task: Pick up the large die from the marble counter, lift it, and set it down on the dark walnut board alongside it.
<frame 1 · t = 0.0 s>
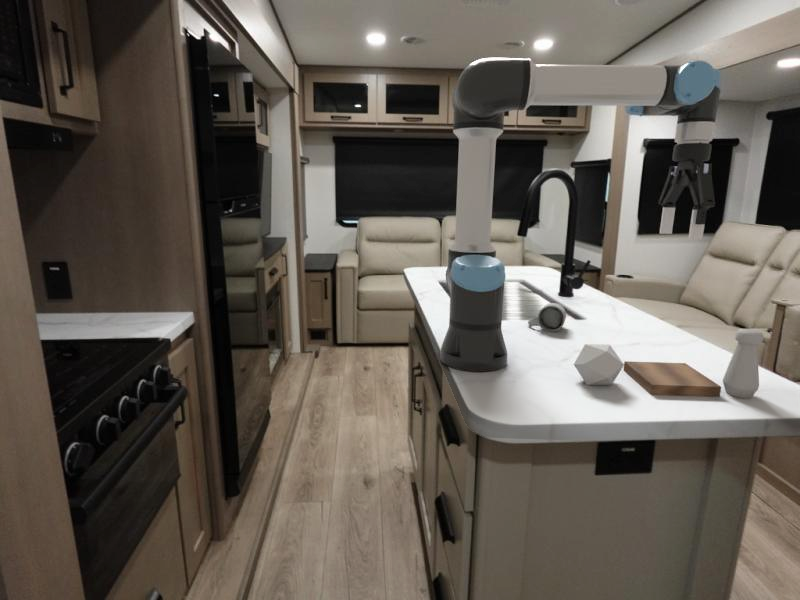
hand: (679, 236, 116), 28 cm above the table, tool pointing down, fingers open, 13 cm apart
die: (596, 383, 99), on the table
ceramic mug: (546, 328, 138), on the table
walnut board: (668, 382, 100), on the table
salt shaker: (738, 395, 94), on the table
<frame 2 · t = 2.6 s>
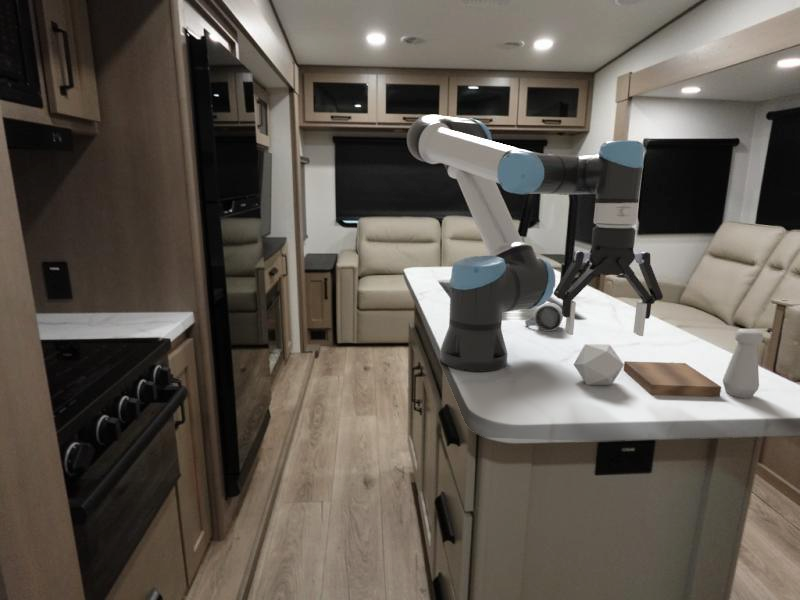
hand: (603, 333, 97), 10 cm above the table, tool pointing down, fingers open, 13 cm apart
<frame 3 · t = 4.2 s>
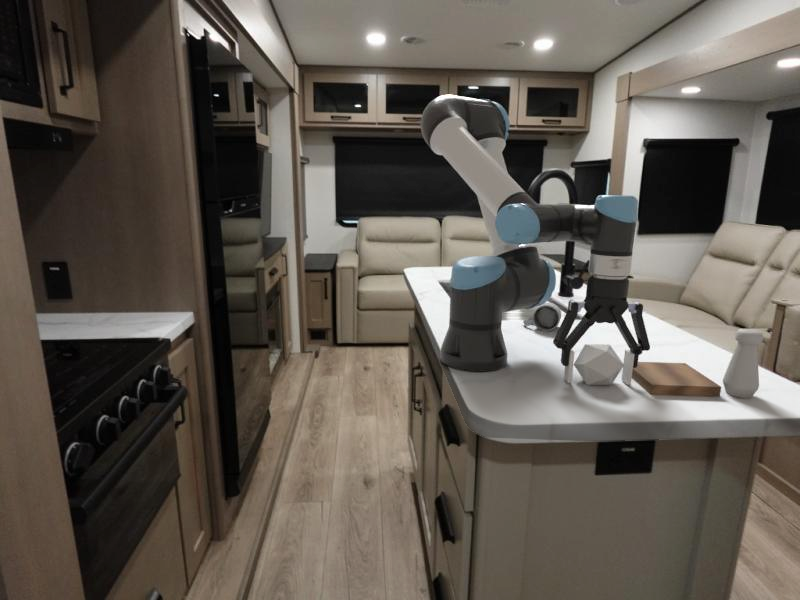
hand: (596, 381, 99), 0 cm above the table, tool pointing down, fingers open, 11 cm apart
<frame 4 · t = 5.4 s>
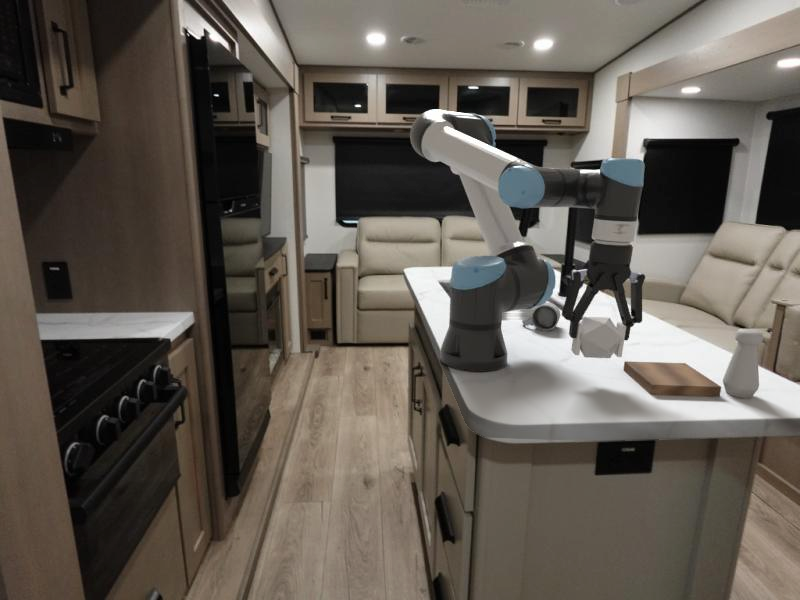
hand: (596, 353, 99), 6 cm above the table, tool pointing down, fingers closed on die, 8 cm apart
die: (594, 356, 99), point 5 cm above the table, touching gripper
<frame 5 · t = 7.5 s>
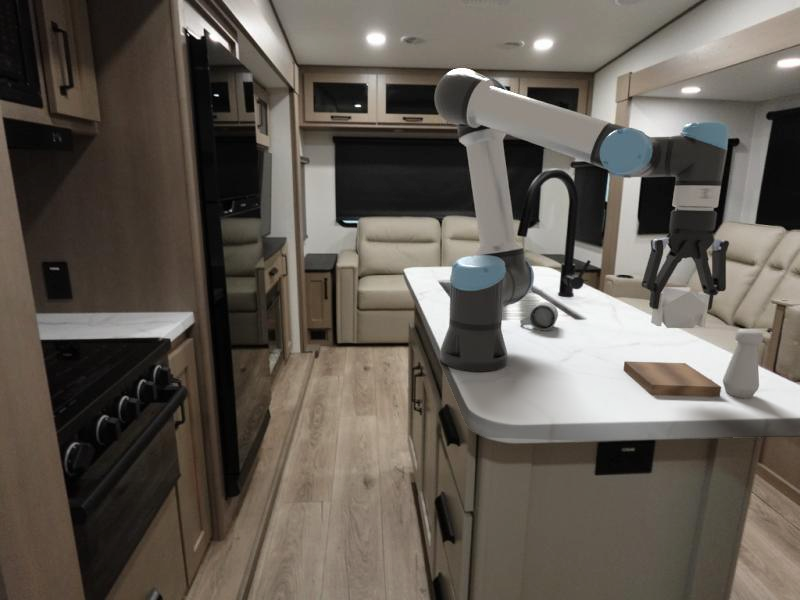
hand: (677, 324, 97), 12 cm above the table, tool pointing down, fingers closed on die, 8 cm apart
die: (676, 327, 97), point 12 cm above the table, touching gripper
when the fingers open (3 cm above the table, at t = 9.9 s): die stays where it is, resting on walnut board.
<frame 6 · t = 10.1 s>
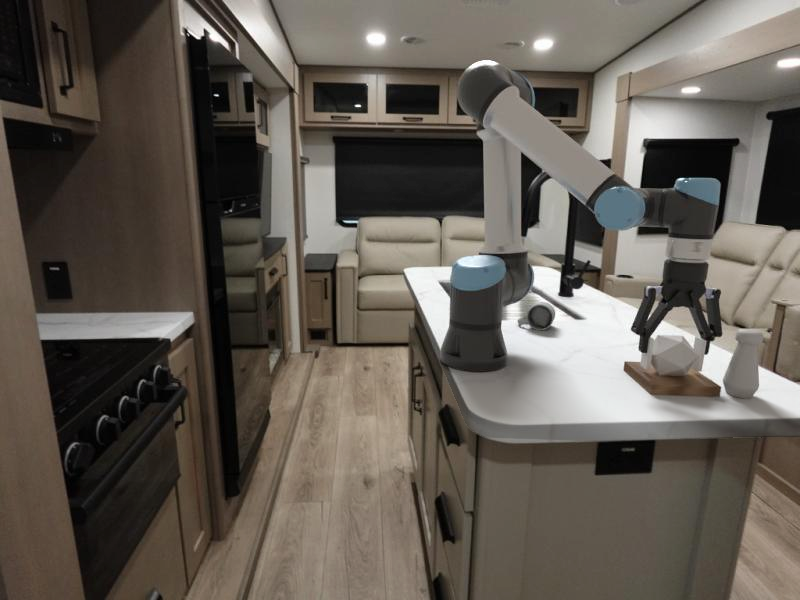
hand: (670, 368, 99), 3 cm above the table, tool pointing down, fingers open, 9 cm apart
die: (668, 374, 99), point 2 cm above the table, touching walnut board
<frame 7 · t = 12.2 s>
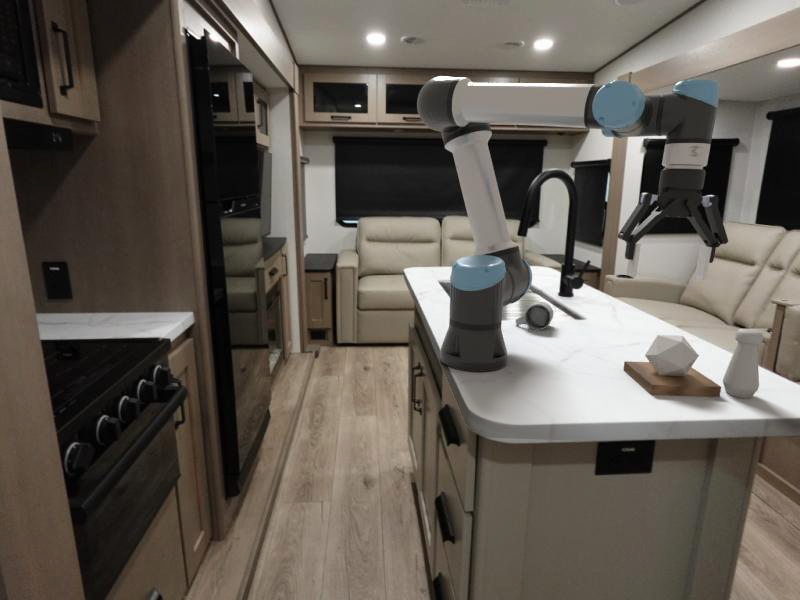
hand: (665, 277, 97), 21 cm above the table, tool pointing down, fingers open, 13 cm apart
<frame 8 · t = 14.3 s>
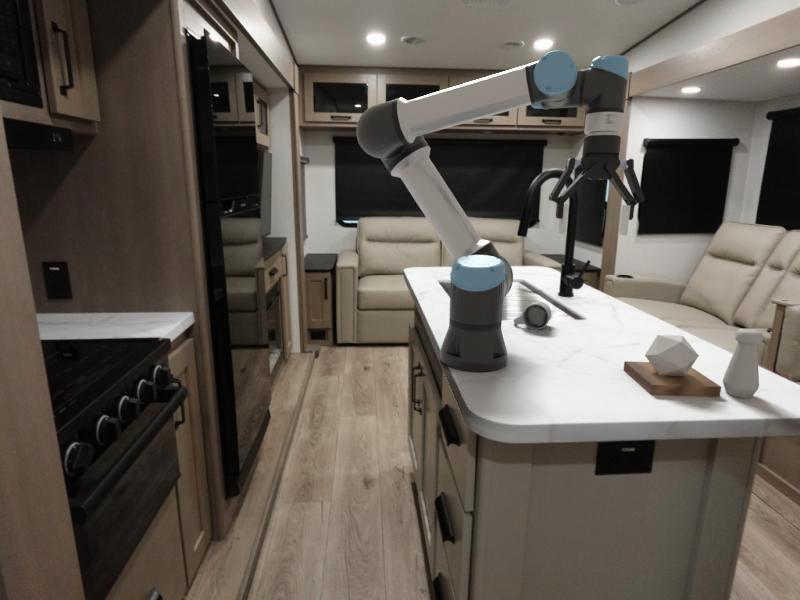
hand: (592, 234, 109), 29 cm above the table, tool pointing down, fingers open, 13 cm apart
at the end: die inside the target area on the walnut board (0.2 cm from its centre), point 1.8 cm above the walnut board's base; die tilted 2°; the gripper is holding nothing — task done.
